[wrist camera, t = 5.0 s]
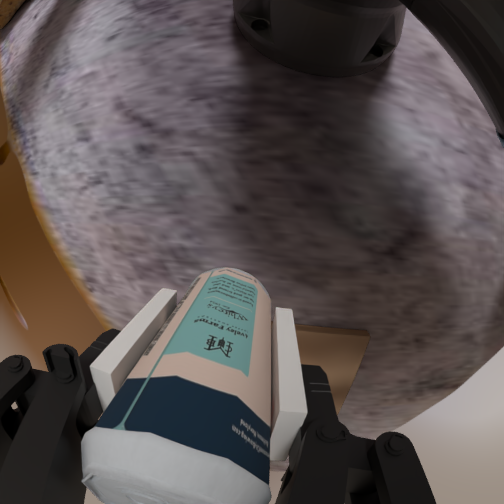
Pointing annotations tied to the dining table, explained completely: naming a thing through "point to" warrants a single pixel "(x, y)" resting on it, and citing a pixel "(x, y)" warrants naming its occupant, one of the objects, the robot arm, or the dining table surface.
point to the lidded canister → (193, 405)
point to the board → (333, 355)
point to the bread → (8, 10)
